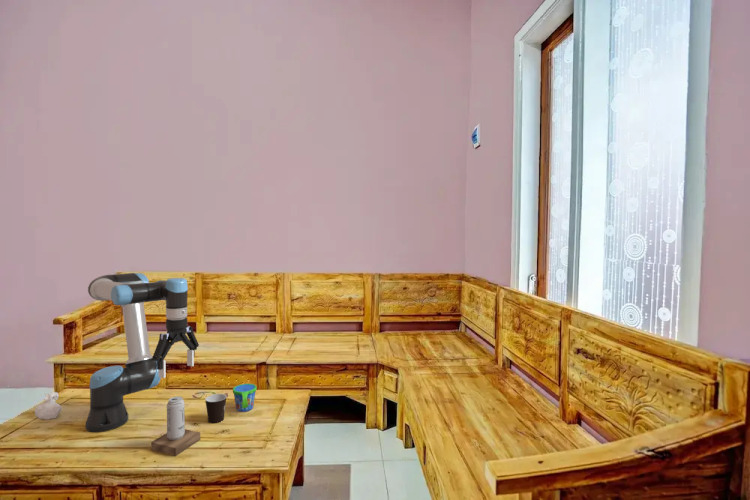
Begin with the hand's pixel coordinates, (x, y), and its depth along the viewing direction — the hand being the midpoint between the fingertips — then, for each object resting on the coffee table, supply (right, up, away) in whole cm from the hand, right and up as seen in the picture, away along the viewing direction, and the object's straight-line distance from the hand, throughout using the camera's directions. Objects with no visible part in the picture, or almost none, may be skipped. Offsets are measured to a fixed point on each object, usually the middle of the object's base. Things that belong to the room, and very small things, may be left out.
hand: (176, 371), depth 153 cm
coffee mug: (+9, -27, +19) cm, 34 cm away
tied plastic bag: (-66, -26, +19) cm, 74 cm away
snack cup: (+17, -27, +29) cm, 43 cm away
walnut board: (+1, -28, -3) cm, 28 cm away
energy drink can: (+1, -25, -3) cm, 25 cm away
